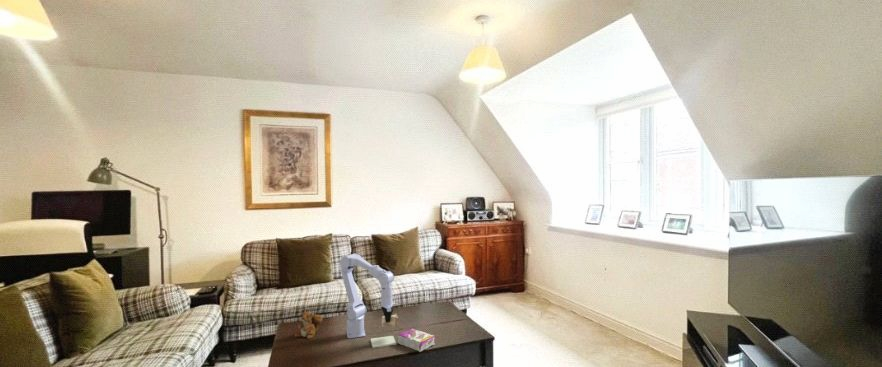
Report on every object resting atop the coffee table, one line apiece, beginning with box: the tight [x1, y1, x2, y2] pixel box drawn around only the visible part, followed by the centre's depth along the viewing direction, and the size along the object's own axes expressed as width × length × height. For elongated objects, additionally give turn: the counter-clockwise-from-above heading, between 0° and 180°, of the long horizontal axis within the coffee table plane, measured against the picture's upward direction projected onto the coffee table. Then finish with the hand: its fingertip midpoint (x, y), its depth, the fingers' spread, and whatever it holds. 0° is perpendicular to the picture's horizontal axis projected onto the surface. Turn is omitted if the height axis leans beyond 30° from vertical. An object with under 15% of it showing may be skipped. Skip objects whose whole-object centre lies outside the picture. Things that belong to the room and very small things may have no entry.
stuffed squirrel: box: [294, 310, 323, 340], centre depth 211 cm, size 10×14×13 cm
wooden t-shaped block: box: [381, 313, 399, 329], centre depth 200 cm, size 8×7×5 cm
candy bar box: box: [397, 327, 436, 353], centre depth 195 cm, size 11×5×16 cm
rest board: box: [370, 335, 397, 349], centre depth 198 cm, size 12×10×1 cm
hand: (387, 321), depth 200 cm, fingers closed on wooden t-shaped block, 2 cm apart
